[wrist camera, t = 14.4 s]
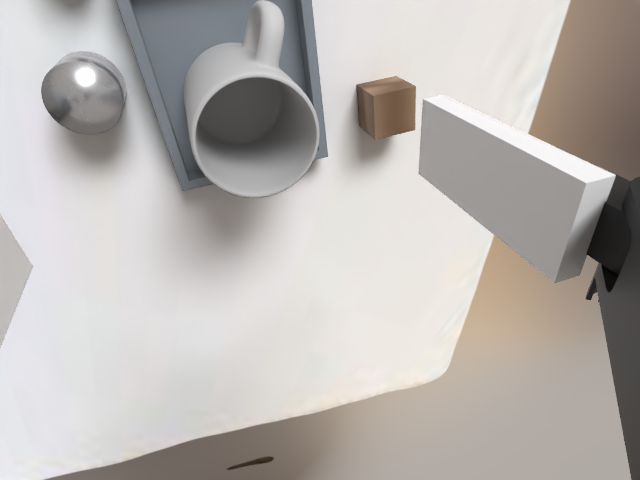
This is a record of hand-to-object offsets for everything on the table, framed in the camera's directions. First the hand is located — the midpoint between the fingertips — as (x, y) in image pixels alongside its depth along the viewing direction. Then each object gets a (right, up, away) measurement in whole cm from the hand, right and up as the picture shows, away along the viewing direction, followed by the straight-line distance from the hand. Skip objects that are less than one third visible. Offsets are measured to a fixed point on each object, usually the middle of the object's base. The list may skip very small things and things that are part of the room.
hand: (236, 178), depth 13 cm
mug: (-4, +12, +22) cm, 25 cm away
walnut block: (+8, +12, +27) cm, 31 cm away
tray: (-5, +12, +22) cm, 26 cm away
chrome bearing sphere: (-15, +10, +19) cm, 27 cm away
